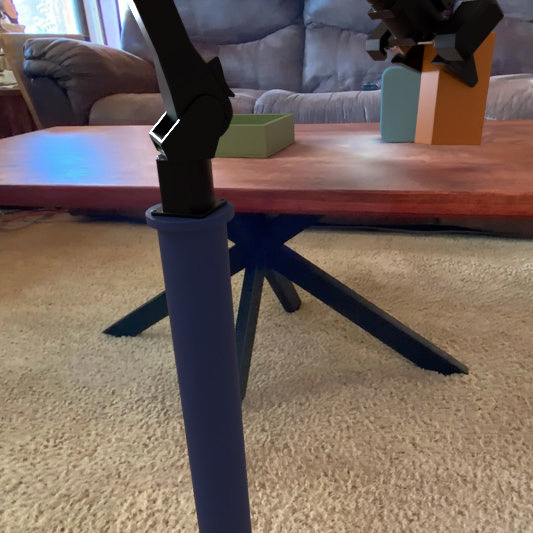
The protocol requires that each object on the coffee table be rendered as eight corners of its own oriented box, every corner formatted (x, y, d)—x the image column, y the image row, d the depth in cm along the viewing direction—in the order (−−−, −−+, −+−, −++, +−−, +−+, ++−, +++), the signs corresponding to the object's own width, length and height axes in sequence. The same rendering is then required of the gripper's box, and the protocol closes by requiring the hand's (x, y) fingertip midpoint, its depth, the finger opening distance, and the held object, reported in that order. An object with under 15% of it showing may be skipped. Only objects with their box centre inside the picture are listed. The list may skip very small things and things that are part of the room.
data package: (449, 136, 90) (455, 63, 85) (453, 141, 85) (460, 64, 81) (379, 138, 92) (381, 66, 87) (380, 142, 87) (383, 67, 83)
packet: (480, 145, 64) (496, 32, 60) (431, 145, 62) (444, 28, 58) (461, 143, 68) (475, 37, 64) (414, 143, 66) (425, 33, 62)
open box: (267, 158, 80) (265, 125, 78) (184, 156, 85) (181, 125, 83) (294, 142, 92) (294, 113, 90) (221, 141, 97) (219, 114, 95)
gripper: (501, -101, 47) (570, 27, 54) (390, -60, 63) (455, 35, 71) (422, -4, 48) (501, 109, 55) (332, 13, 64) (403, 98, 71)
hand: (462, 83), depth 63 cm, fingers closed on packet, 4 cm apart
